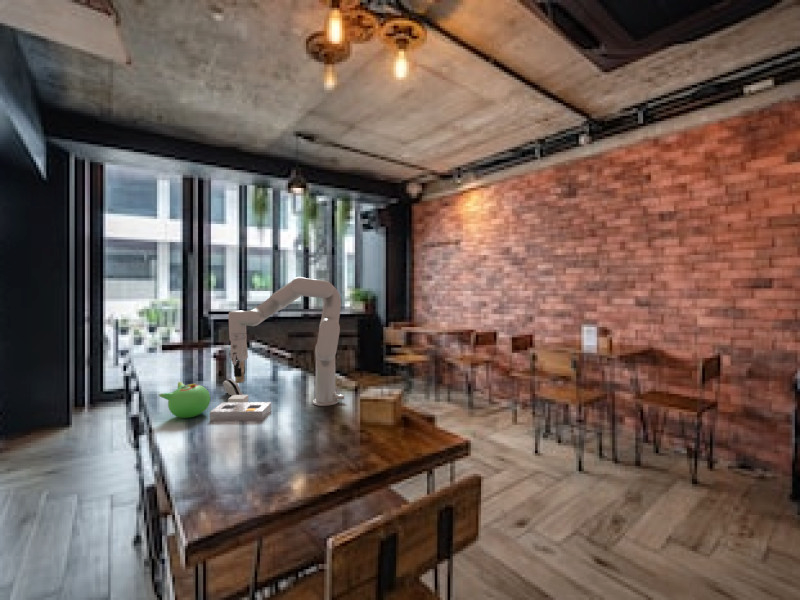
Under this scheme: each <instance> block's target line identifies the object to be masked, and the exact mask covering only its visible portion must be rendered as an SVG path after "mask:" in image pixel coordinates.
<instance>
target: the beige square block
mask: <svg viewBox="0 0 800 600" xmlns="http://www.w3.org/2000/svg"><path fill="white" fill-rule="evenodd" d="M237 402H249V394H244V395H233V396H229V398H228V399H227V403H237Z"/></svg>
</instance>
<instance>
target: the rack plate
mask: <svg viewBox="0 0 800 600" xmlns="http://www.w3.org/2000/svg"><path fill="white" fill-rule="evenodd" d="M271 412H272V402H271V401H268V402H267V401H266V402H265V401H263V402H262V401H259V402H257V401H255V402H249V401H248V402H237V403H228V402H221V403H220V404H218V405H217V406H216V407H214V408H213V409H212V410H210V411H209V422H259V421H260V422H262V421H263V420H265V418H266V417H267V416H268V415H269V414H270V413H271Z"/></svg>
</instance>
